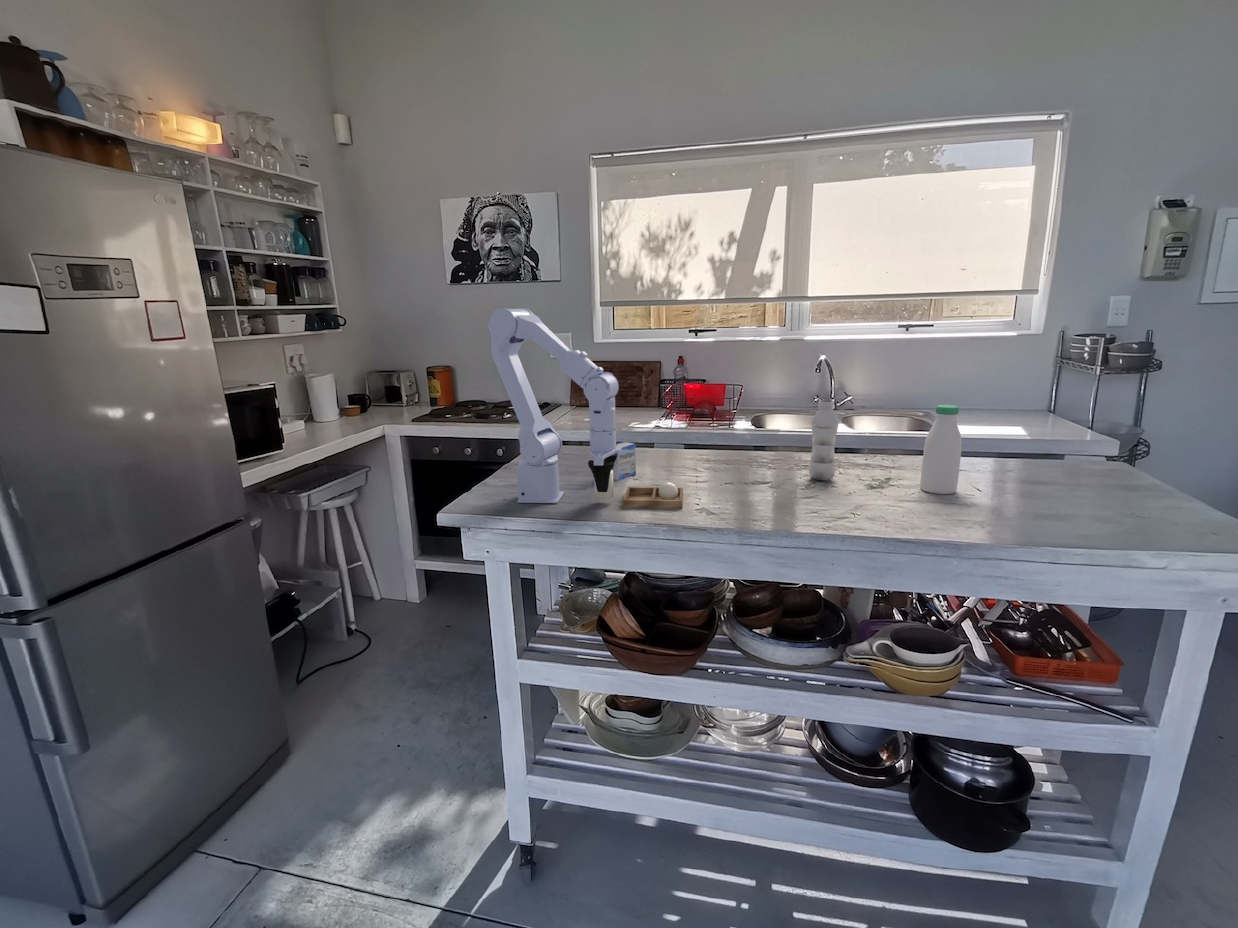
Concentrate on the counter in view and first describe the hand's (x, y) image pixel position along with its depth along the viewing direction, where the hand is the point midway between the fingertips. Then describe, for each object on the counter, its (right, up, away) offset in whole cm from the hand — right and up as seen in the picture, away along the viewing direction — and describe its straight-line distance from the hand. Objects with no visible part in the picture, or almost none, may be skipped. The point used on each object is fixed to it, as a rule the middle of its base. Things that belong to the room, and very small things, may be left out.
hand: (603, 488), depth 137 cm
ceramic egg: (+15, -3, +1) cm, 15 cm away
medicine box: (+4, +2, +23) cm, 23 cm away
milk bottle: (+78, -1, +6) cm, 79 cm away
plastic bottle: (+54, +1, +17) cm, 57 cm away
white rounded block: (0, -2, 0) cm, 2 cm away
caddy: (+11, -3, +2) cm, 12 cm away
